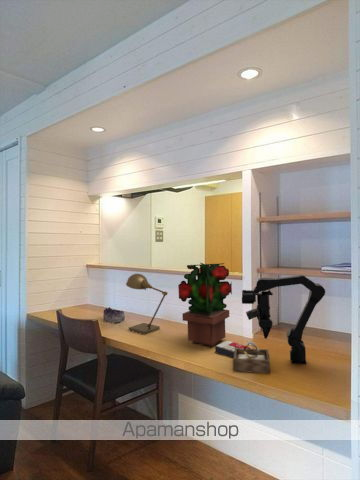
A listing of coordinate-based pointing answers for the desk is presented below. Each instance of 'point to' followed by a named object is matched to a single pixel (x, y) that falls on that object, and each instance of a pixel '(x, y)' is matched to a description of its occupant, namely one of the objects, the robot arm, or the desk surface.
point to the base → (251, 360)
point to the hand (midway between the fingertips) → (264, 335)
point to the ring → (250, 345)
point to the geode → (113, 315)
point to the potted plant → (206, 303)
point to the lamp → (141, 283)
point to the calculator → (228, 348)
